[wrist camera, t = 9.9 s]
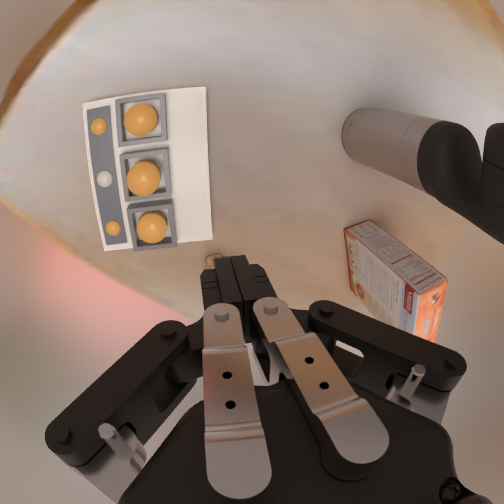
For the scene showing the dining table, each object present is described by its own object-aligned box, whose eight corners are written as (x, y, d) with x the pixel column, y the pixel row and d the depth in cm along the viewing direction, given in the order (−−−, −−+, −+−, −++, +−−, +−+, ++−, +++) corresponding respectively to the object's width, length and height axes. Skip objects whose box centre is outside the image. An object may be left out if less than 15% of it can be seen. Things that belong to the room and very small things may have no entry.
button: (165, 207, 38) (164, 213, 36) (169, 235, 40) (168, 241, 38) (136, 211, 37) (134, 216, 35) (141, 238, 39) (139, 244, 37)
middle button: (159, 158, 33) (158, 161, 31) (162, 189, 35) (161, 194, 33) (127, 162, 32) (124, 165, 30) (131, 193, 34) (128, 198, 32)
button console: (204, 88, 34) (207, 85, 30) (210, 230, 44) (214, 246, 40) (89, 103, 31) (76, 103, 27) (108, 242, 41) (101, 258, 37)
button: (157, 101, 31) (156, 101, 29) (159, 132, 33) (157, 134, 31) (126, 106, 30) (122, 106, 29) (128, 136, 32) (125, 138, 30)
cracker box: (374, 278, 56) (435, 346, 38) (349, 289, 56) (406, 363, 38) (371, 217, 49) (451, 279, 31) (342, 227, 49) (418, 297, 31)
